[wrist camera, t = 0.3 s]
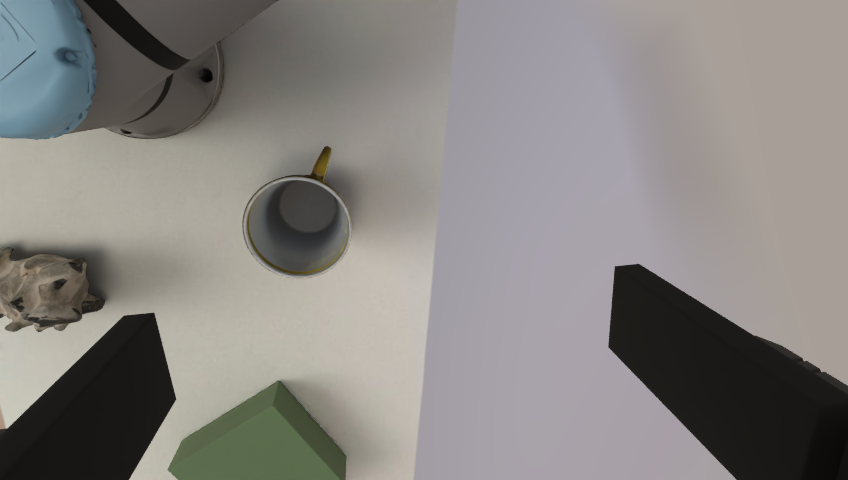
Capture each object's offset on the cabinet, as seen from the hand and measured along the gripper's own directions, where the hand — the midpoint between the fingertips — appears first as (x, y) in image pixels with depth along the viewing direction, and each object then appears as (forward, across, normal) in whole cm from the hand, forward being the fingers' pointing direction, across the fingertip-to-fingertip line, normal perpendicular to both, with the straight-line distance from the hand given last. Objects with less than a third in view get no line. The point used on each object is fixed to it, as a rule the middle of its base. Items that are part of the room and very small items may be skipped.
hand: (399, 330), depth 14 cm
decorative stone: (+34, -37, -11) cm, 51 cm away
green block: (+41, -17, -38) cm, 59 cm away
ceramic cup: (+42, -7, -4) cm, 42 cm away
